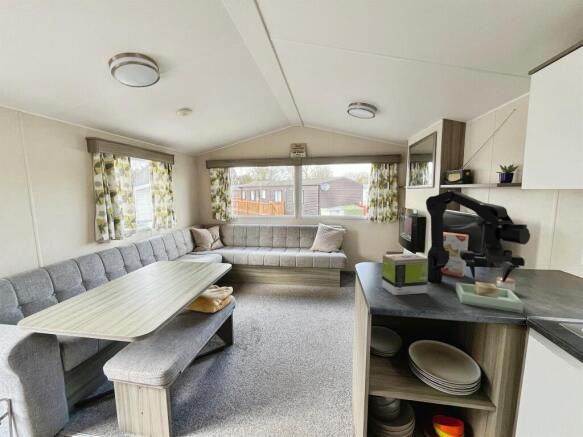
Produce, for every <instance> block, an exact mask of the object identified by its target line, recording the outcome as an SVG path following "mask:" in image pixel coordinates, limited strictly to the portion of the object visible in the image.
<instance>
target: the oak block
mask: <svg viewBox="0 0 583 437" xmlns="http://www.w3.org/2000/svg"><path fill="white" fill-rule="evenodd" d="M474 285H475V292H474V294H475V295H479V296H485V297H492V298H498V291H499V289H498V288H497V287H496V284H495V283H488V282H482V281H475V283H474Z"/></svg>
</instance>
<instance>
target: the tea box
mask: <svg viewBox="0 0 583 437" xmlns="http://www.w3.org/2000/svg"><path fill="white" fill-rule="evenodd" d="M381 270H382V272H381V287H382V288H383V289H384V290H386V291H387V292H389V293H390V294H392V295H393V296H402V295H411V294H412V295H417V294H427V293H428V282H429V281H428V259H427V257H424V256H421V255H418V254H416V253H394V254H382V269H381Z"/></svg>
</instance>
